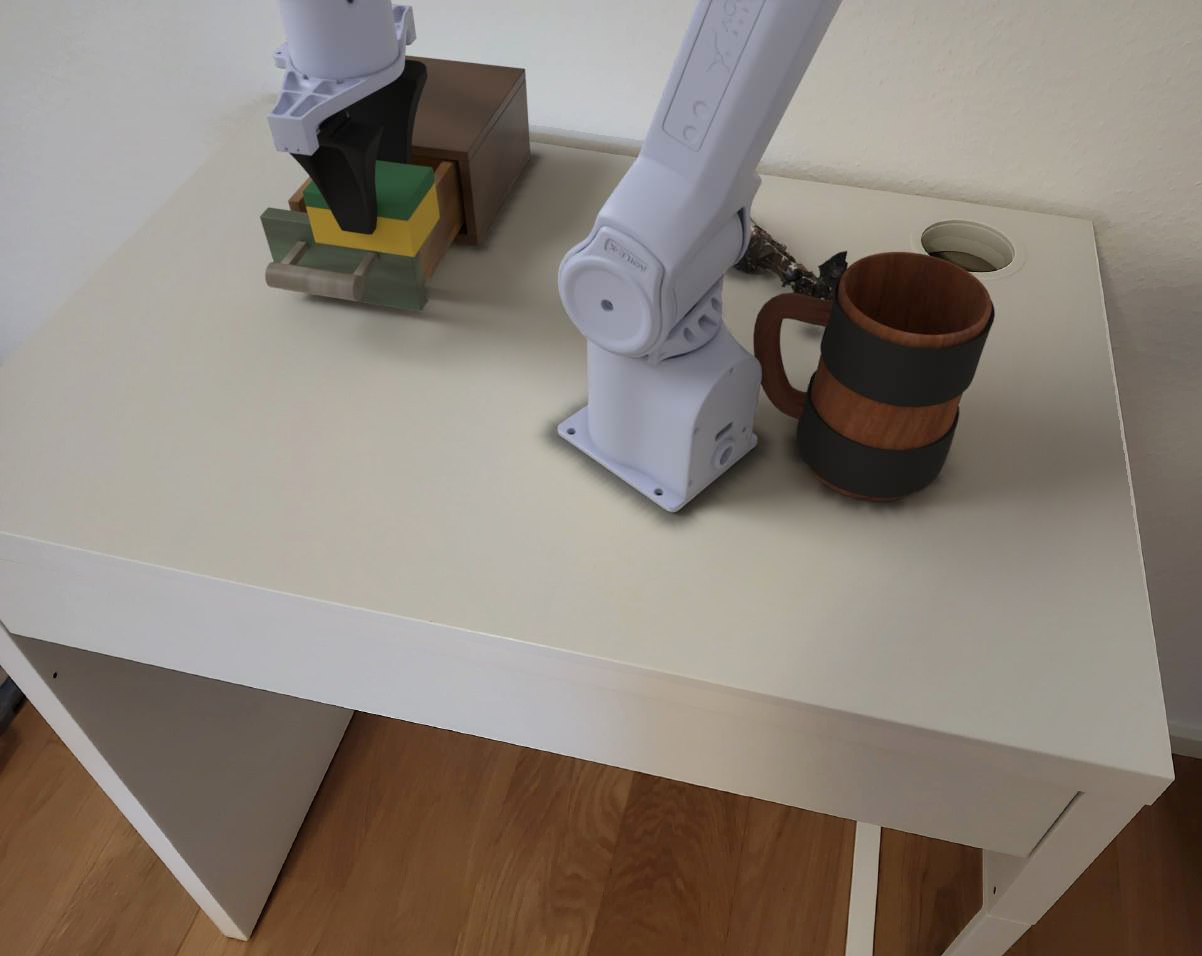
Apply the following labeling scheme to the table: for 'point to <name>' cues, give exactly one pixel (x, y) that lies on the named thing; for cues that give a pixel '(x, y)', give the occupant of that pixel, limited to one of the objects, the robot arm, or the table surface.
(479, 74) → the cabinet
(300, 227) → the drawer
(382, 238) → the sponge
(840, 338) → the mug
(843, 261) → the airplane wreck
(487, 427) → the table surface
